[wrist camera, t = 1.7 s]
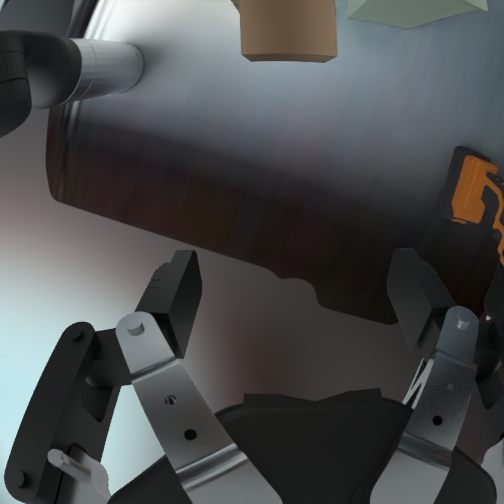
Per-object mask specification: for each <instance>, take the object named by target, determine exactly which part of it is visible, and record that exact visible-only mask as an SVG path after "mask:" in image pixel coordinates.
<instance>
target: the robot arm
mask: <svg viewBox="0 0 504 504" xmlns="http://www.w3.org/2000/svg"><path fill="white" fill-rule="evenodd" d="M143 66H144V62H143V57H142V54H141V52H140V51H139V49H138V48H136V47H135V46H133V45H131V44H126V43H119V42H112V41H104V40H94V39H82V38H62V37H61V36H59V35H58V34H56V33H50V32H38V31H26V30H4V31H0V138H1V137H3V136H5V135H7V134H9V133H10V132H12V131H13V130H15V129H16V128H18V127H19V126H20V125H21V124H22V123H23V122H24V121H25V120H26V119H27V117H28V116H29V114H30V111H31V108H32V107H33V108H36V109H47V108H51V107H55V106H58V105H62V104H66V103H70V102H74V101H79V100H83V99H88V98H93V97H98V96H104V95H110V94H116V93H121V92H125V91H127V90H129V89H131V88H132V87H133V86H134V85H135V84H136V83H137V82H138V80H139V79H140V77H141V75H142V72H143ZM387 292H388V295H389V297H390V300H391V302H392V305H393V307H394V310H395V312H396V315H397V317H398V320H399V322H400V325H401V328H402V330H403V333H404V336H405V338H406V341H407V344H408V347H409V350H410V352H411V353H418V352H421V353H422V355H423V360H422V362H421V364H420V366H419V368H418V371H417V373H416V375H415V378H414V380H413V382H412V384H411V386H410V389H409V391H408V393H407V395H406V397H405V399H404V401H403V402H402V403H401V402H399V401H396V400H393V399H389V398H384V397H382V395H381V390H380V388H375V389H366V390H357V391H348V392H345V393H342V394H338V395H335V396H332V397H328V398H325V399H322V400H318V401H310V400H305V399H300V398H294V397H290V396H285V395H280V394H244V401H243V403H239V404H235V405H232V406H229V407H226V408H224V409H221V410H219V411H218V412H216V413H213V412H212V410H211V409H210V408H209V406H208V405H207V403H206V402H205V400H204V399H203V397H202V396H201V394H200V393H199V391H198V389H197V388H196V386H195V385H194V383H193V381H192V380H191V378H190V377H189V375H188V373H187V372H186V370H185V369H184V367H183V365H182V363H181V362H180V360H179V359H184V356H185V352H186V348H187V345H188V341H189V338H190V334H191V331H192V327H193V323H194V320H195V317H196V313H197V309H198V306H199V302H200V299H201V295H202V280H201V275H200V270H199V264H198V259H197V254H196V251H194V250H183V251H176V252H175V254H174V256H173V258H172V260H171V262H170V263H164V264H162V265H161V266H160V267H159V268H158V269H157V270H156V271H155V272H154V274H153V276H152V278H151V281H150V282H149V284H148V286H147V288H146V290H145V292H144V294H143V296H142V298H141V300H140V302H139V304H138V306H137V308H136V310H135V312H133V313H131V314H128V315H126V316H125V317H123V318H122V319H121V320H120V321H119V322H118V324H117V326H116V328H113V329H108V330H102V331H95V330H94V328H93V326H92V325H91V324H90V323H88V322H77V323H74V324H72V325H70V326H69V327H68V328H66V329H65V331H64V332H63V333H62V335H61V337H60V339H59V341H58V343H57V345H56V346H55V349H54V350H53V352H52V354H51V356H50V358H49V361H48V362H47V365H46V366H45V369H44V371H43V373H42V375H41V377H40V379H39V381H38V384H37V386H36V388H35V390H34V393H33V395H32V397H31V399H30V402H29V405H28V407H27V409H26V411H25V414H24V416H23V419H22V422H21V424H20V427H19V430H18V432H17V435H16V438H15V441H14V444H13V447H12V450H11V453H10V456H9V459H8V462H7V466H6V469H5V474H4V481H5V485H6V488H7V490H8V492H9V493H10V494H11V495H12V497H14V498H15V499H16V500H19V501H21V502H23V503H25V504H504V388H503V385H502V382H501V380H500V377H499V374H498V372H497V369H498V368H499V366H500V365H501V364H502V365H503V368H504V314H500V315H498V316H497V317H496V318H495V320H494V322H493V324H488V323H482V322H478V319H477V317H476V316H475V315H474V314H473V313H472V312H471V311H470V310H468V309H466V308H464V307H460V306H456V304H455V302H454V301H453V299H452V297H451V296H450V294H449V292H448V291H447V289H446V287H445V286H444V284H442V281H441V279H440V278H439V277H438V275H437V273H436V271H435V270H434V268H433V267H432V266H431V265H429V264H428V263H427V262H426V261H424V260H421V259H420V257H419V256H418V254H417V253H416V251H415V250H414V249H413V248H397V249H396V250H395V251H394V254H393V259H392V263H391V267H390V271H389V275H388V278H387ZM131 384H133V386H134V389H135V391H136V394H137V396H138V398H139V400H140V403H141V405H142V407H143V409H144V412H145V414H146V416H147V418H148V420H149V422H150V424H151V426H152V428H153V430H154V433H155V435H156V437H157V439H158V440H159V442H160V444H161V446H162V448H163V450H164V452H165V455H164V456H163V457H161V458H160V459H159V460H158V461H156V462H155V463H154V464H153V465H151V466H150V467H149V468H147V469H146V470H145V471H144V472H142V473H141V474H140V475H138V476H137V477H136V478H134V480H132V481H130V482H129V483H128V484H126V485H125V486H124V487H122V488H121V489H119V490H118V491H117V492H116V493H114V494H113V495H112V496H111V494H110V492H109V489H108V486H109V485H108V474H107V471H106V469H105V468H104V467H103V466H102V465H101V464H100V462H101V458H102V454H103V450H104V446H105V442H106V438H107V434H108V431H109V427H110V423H111V419H112V416H113V412H114V409H115V406H116V402H117V399H118V395H119V392H120V389H121V386H123V385H131ZM471 394H472V398H473V401H474V404H475V408H476V411H477V415H478V419H479V422H480V426H481V431H482V435H483V439H484V444H485V449H486V454H485V457H484V463H483V464H482V465H481V466H480V465H478V464H477V463H476V462H475V461H473V460H472V459H471V458H470V457H469V456H467V455H466V454H465V453H464V452H462V451H461V450H460V449H459V448H458V447H456V446H455V443H456V440H457V437H458V435H459V432H460V429H461V426H462V423H463V420H464V417H465V413H466V410H467V407H468V403H469V399H470V396H471Z"/></svg>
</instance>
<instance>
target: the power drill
mask: <svg viewBox="0 0 504 504" xmlns="http://www.w3.org/2000/svg"><path fill="white" fill-rule="evenodd" d="M497 172H498V167H497V166H495V165H493V164H491V161H490V159H489V158H487V157H486V156H483V155H481V154H479V153H476V152H474V151H472V150H469V149H467V148H464V147H462V146H459V147H456V148H455V150H454V154H453V158H452V162H451V165H450V169H449V172H448V176H447V179H446V182H445V185H444V189H443V192H442V195H441V198H440V201H439V208H440V210H439V211H440V215H441V216H442V218H444V219H448V220H452V221H456V222H460V223H462V224H467V225H469V224H477V223H479V222H480V221H481V218H482V216H483V213H484V210H485V208H487V209H488V210H489V211H490V212H491V213H492V214H493V215H494V217H495V223H494V225H493V229H494V230H495V232H494V234H493V238H496V239H498V241H499V247H498V252H499V254H500V255H501V256H500V259H499V262H498V264H497V267H496V269H495V273H494V276H495V277H494V279H493V281H492V283H491V285H490V289H489V291H488V293H487V295H486V297H485V299H484V307H485V312H486V314H487V318H486V319H487V320H489V319H490V318H492V319H495V318H496V317H497V316H498V315H500V314H504V180H502V179H501V178H500V177H498V176H496V175H497Z"/></svg>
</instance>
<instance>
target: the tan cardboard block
mask: <svg viewBox="0 0 504 504" xmlns="http://www.w3.org/2000/svg"><path fill="white" fill-rule="evenodd" d="M239 3H240V30H241V54H242V55H243V56H244V57H246V58H247V59H248V60H250V61H251V62H252V61H301V62H320V63H325V62H327V61H329V60H331V59H333V58H335V57H337V30H336V10H335V0H239Z"/></svg>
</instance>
